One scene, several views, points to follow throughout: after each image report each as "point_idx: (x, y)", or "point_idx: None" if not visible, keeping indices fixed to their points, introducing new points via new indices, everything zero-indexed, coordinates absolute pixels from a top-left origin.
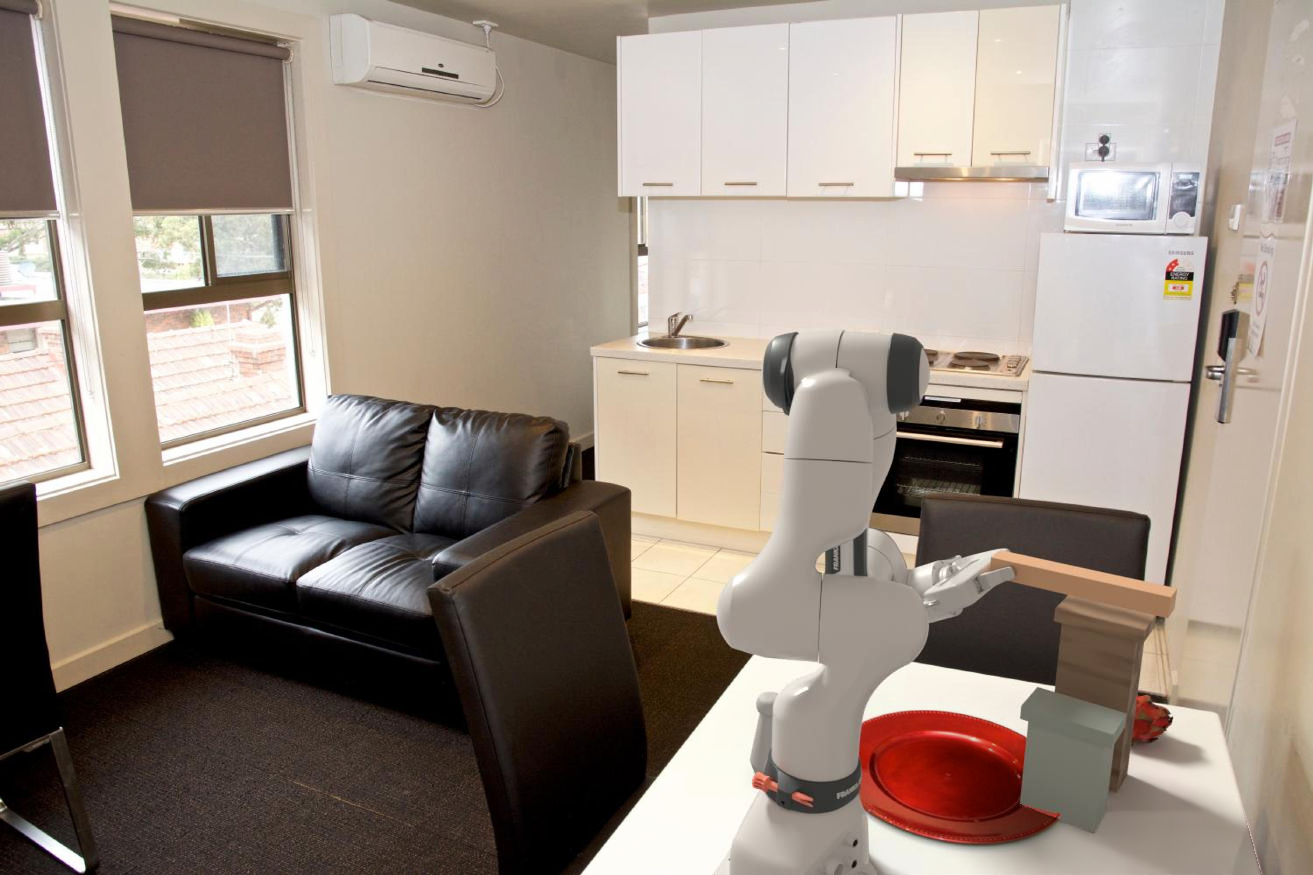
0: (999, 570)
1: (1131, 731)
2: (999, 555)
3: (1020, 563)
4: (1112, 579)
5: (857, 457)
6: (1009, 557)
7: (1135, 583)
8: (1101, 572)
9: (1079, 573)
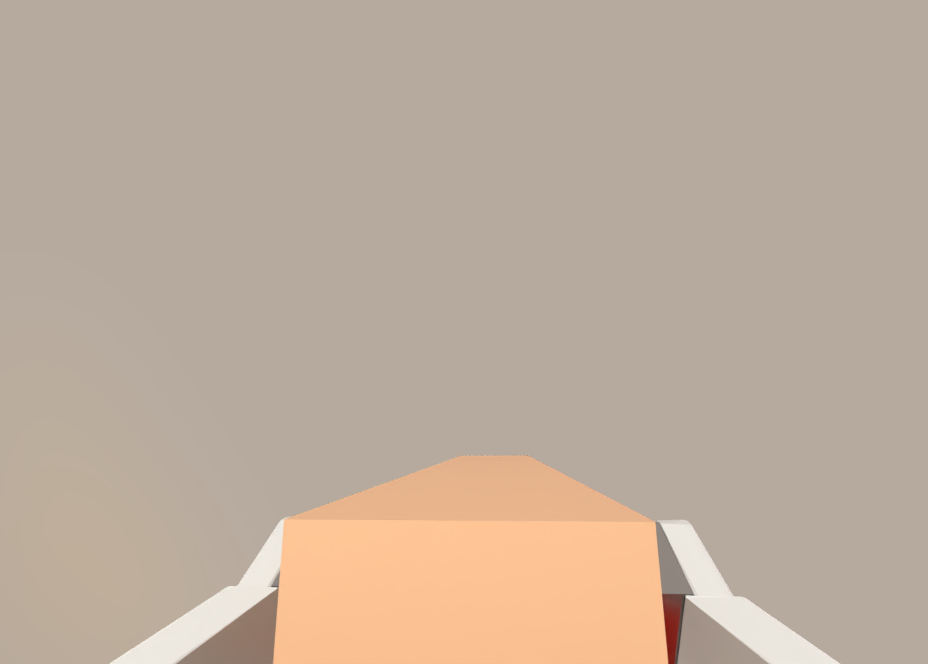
0: (729, 594)
1: None
2: (507, 510)
3: (576, 485)
4: (493, 460)
5: None
6: (499, 497)
7: (485, 458)
8: (446, 462)
9: (506, 465)
